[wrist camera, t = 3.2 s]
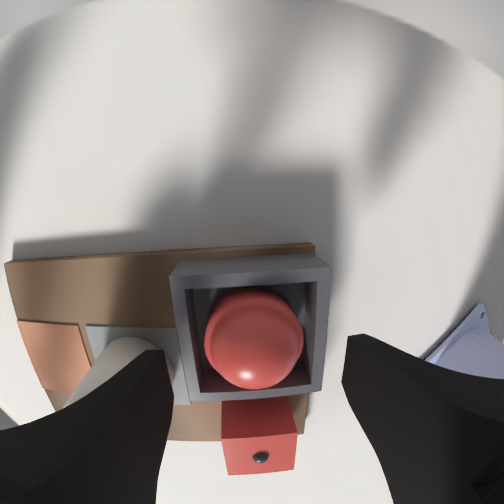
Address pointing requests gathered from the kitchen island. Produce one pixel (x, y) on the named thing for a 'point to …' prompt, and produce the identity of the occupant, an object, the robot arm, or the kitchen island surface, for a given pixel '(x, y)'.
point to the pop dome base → (251, 274)
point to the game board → (117, 321)
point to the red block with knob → (258, 435)
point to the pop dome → (253, 337)
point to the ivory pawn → (113, 364)
